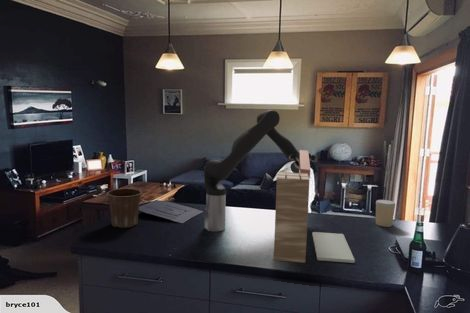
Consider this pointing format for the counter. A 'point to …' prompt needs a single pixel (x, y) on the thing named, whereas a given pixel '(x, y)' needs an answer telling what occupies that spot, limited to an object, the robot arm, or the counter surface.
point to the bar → (304, 162)
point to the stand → (291, 216)
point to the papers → (170, 210)
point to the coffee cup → (384, 212)
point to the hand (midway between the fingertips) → (304, 155)
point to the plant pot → (124, 207)
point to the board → (332, 247)
